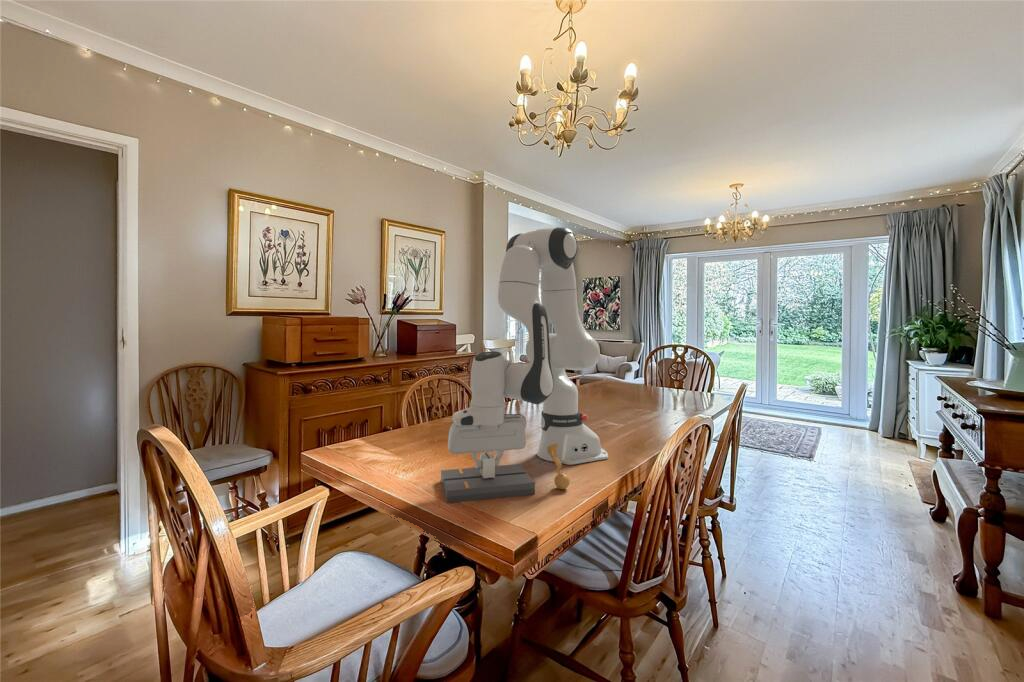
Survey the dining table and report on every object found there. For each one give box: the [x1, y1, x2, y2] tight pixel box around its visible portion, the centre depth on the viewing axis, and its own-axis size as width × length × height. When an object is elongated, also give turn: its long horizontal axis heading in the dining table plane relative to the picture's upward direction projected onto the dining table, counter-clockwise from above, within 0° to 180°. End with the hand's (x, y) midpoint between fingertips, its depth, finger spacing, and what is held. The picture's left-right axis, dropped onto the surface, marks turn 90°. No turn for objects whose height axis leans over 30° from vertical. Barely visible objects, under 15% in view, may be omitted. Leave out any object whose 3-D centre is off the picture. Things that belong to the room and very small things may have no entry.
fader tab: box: [479, 452, 496, 478], centre depth 115 cm, size 3×4×7 cm, turn 15°
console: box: [440, 463, 536, 504], centre depth 115 cm, size 22×14×3 cm, turn 105°
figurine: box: [547, 443, 570, 490], centre depth 115 cm, size 8×6×12 cm
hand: (487, 467), depth 115 cm, fingers closed on fader tab, 3 cm apart
